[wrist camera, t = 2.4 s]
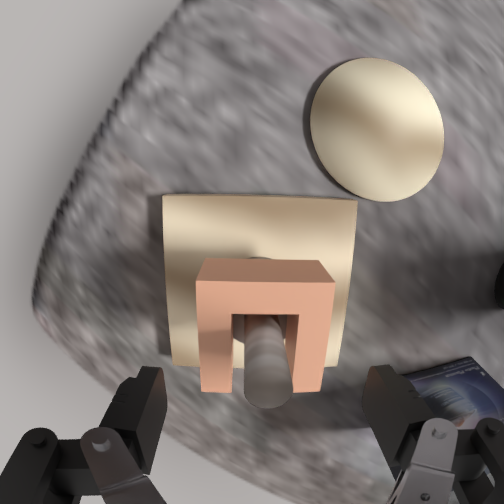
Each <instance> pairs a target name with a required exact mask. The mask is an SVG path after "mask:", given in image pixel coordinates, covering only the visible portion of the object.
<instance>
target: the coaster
mask: <svg viewBox="0 0 504 504" xmlns="http://www.w3.org/2000/svg"><path fill="white" fill-rule="evenodd" d="M310 130H311V135H312V140H313V144H314V147H315V150H316V152H317V154H318V157H319V159H320V161H321V162H322V164H323V166H324V167H325V169H326V170H327V171H328V172H329V174H330V175H331V176H332V177H333V178H334V179H335V180H336V181H337V182H338V183H339V184H340V185H342V186H343V187H344V188H345V189H347V190H349V191H350V192H352V193H354V194H356V195H358V196H360V197H363V198H366V199H370V200H374V201H381V202H390V201H397V200H401V199H404V198H407V197H409V196H411V195H413V194H415V193H416V192H418V191H419V190H421V189H422V188H423V187H424V186H425V185H426V184H427V183H428V182H429V181H430V179H431V178H432V177H433V175H434V174H435V172H436V170H437V168H438V166H439V163H440V160H441V157H442V152H443V146H444V130H443V123H442V119H441V115H440V112H439V109H438V107H437V104H436V102H435V100H434V98H433V97H432V95H431V93H430V92H429V91H428V89H427V88H426V87H425V85H424V84H423V83H422V82H421V81H420V80H419V79H418V78H417V77H416V76H415V75H414V74H412V73H411V72H410V71H408V70H407V69H405V68H404V67H402V66H400V65H398V64H396V63H393V62H391V61H387V60H384V59H378V58H361V59H355V60H352V61H349V62H346V63H344V64H342V65H340V66H339V67H337V68H336V69H334V70H333V71H332V72H331V73H330V74H329V75H328V76H327V77H326V78H325V79H324V81H323V82H322V83H321V84H320V86H319V88H318V90H317V92H316V94H315V97H314V99H313V103H312V107H311V114H310Z"/></svg>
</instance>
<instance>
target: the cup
mask: <svg viewBox="0 0 504 504" xmlns="http://www.w3.org/2000/svg"><path fill="white" fill-rule="evenodd" d="M495 298H496V301H497V303H498V305H499V306H500V307H501V308H503V309H504V263H503V265H502V267H501V269H500V271H499V274H498V276H497V280H496V284H495Z"/></svg>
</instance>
